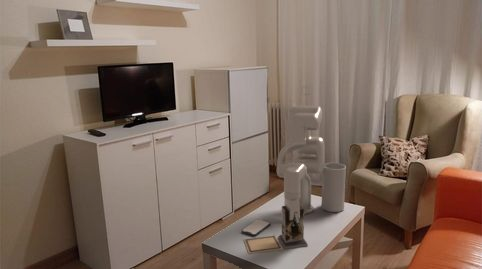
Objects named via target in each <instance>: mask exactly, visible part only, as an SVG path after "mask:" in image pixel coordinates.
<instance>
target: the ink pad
mask: <svg viewBox="0 0 482 269" xmlns="http://www.w3.org/2000/svg"><path fill="white" fill-rule="evenodd" d="M277 239H278V240H279V242H280V244H281V246H282V247H283V248H284V250H288V249H296V248H303V247H308V246H309V245H308V243H307V241H306V240H305V239H304V240H303V241H295V242H288V243H285V241H284V240H283V238H282V234H279V235H278V237H277Z"/></svg>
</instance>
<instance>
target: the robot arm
mask: <svg viewBox="0 0 482 269" xmlns="http://www.w3.org/2000/svg"><path fill="white" fill-rule="evenodd" d="M288 109H289V110H288V115H289V118H290V122H289V124H290V125H289V133H288V141H287V143H286V144H285V145H284V146H283V147H282V148H281V149H280V151H279V153H278V155H277V159H276V160H277V163H276V174H277V176H278V177H279V178H282V179H283V198H284V204H283V206H285V207H286V208H287V209H288V211H289V220H292V234H294V233H298V232H299V218H300V206H301V207H302V208H303V209H304V215H305V214H310V213H312V212H313V211H314V209H315V207H314V206H313V205H312V180H311V177H310V176H309V174H310V175H311V174H313V175H316V174H317V175H320V174H321V175H322V174H323V171H324V164H325V152H326V151H325V140H324V139H323V137H320V136H312V135H311V133H312V132H311V131H318V130H319V128H320V127H321V122H322V119H323V109H322V108H321V106H319V105H294V106H291V107H290V108H288ZM293 151H295V152H296V153H298V154H303V155H296V156H295V157H293V158H292V162H287V161H286V162H285V160H284V159H285V158H286V156H287V155H288V154H290V153H291V152H293ZM304 154H305V155H304ZM312 155H313V156H312ZM314 155H315V156H314ZM294 217H295V219H293V218H294ZM298 217H299V218H298ZM293 220H295V222H294V221H293Z"/></svg>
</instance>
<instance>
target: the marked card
mask: <svg viewBox="0 0 482 269" xmlns="http://www.w3.org/2000/svg"><path fill="white" fill-rule="evenodd" d="M243 242H244V244H245V247H246V249H247V252H248V254H249V255H251V254H258V253H267V252H273V251H279V250H280V251H281V250H284V249H283V248H284V247H283V245H282V243H281V242H280V240H279V238H278V237H277V236H276V234H275V235H268V236H260V237H252V238H244V239H243Z"/></svg>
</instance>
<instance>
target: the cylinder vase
mask: <svg viewBox="0 0 482 269" xmlns="http://www.w3.org/2000/svg"><path fill="white" fill-rule="evenodd" d="M346 173H347V166H346V164H343V163H339V162H327V163H324V171H323V173H322V177H321V178H322V181H321V182H322V183H321V208H322V209H323V210H324V211H326V212H330V213H340V212H342V211H344V209H345V196H346V195H345V194H346V193H345V192H346V177H347V174H346Z"/></svg>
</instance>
